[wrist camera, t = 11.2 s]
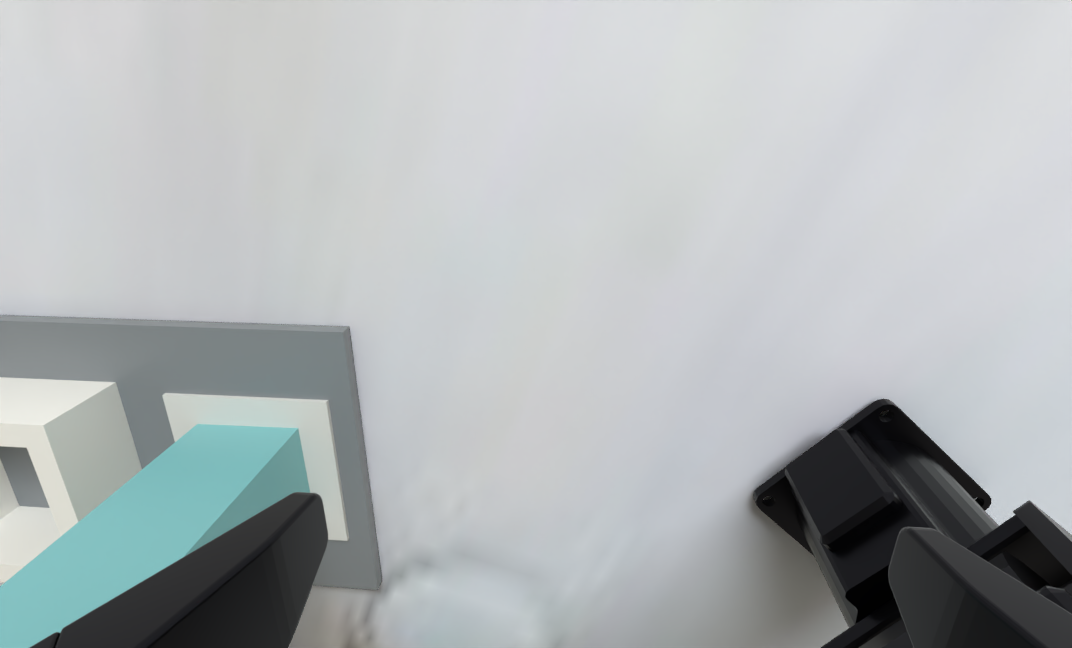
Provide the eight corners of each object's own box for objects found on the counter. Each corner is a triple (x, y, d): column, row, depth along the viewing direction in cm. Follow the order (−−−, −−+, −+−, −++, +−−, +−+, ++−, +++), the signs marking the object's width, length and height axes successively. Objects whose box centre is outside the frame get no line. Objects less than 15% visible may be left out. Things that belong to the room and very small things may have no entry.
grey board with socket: (349, 326, 23) (301, 371, 19) (381, 580, 27) (349, 655, 24) (-88, 312, 24) (-210, 350, 21) (15, 553, 29) (-69, 620, 25)
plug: (298, 428, 24) (-9, 771, 12) (314, 514, 25) (60, 895, 13) (197, 423, 24) (-200, 751, 12) (219, 509, 26) (-112, 874, 14)
